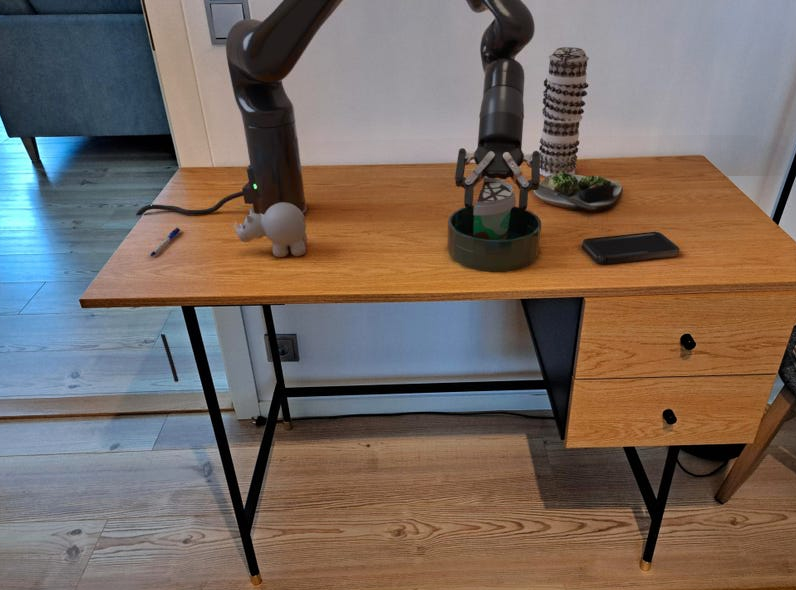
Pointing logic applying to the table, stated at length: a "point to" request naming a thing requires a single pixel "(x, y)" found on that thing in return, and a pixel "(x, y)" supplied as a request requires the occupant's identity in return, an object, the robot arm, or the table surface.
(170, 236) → the ballpoint pen
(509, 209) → the food container
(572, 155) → the decorative candle
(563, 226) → the table surface
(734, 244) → the table surface
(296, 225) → the round bodied animal figurine
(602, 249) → the phone
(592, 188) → the salad plate
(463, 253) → the bowl
